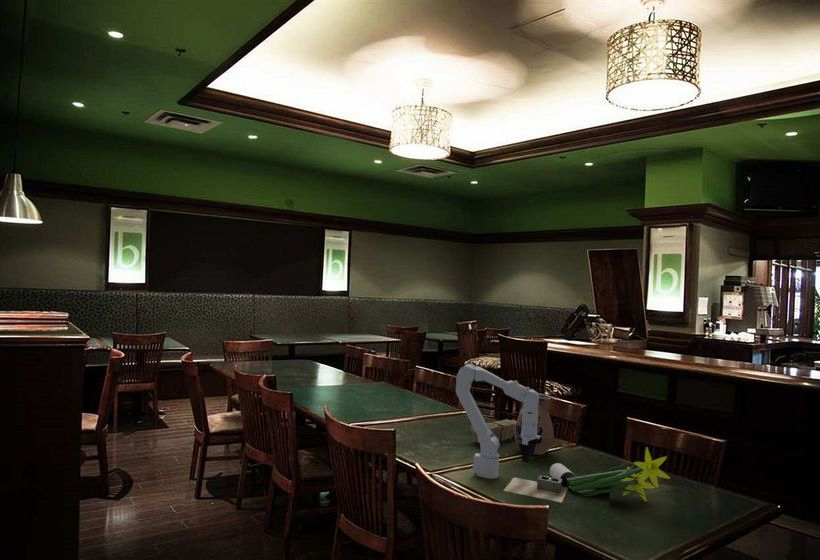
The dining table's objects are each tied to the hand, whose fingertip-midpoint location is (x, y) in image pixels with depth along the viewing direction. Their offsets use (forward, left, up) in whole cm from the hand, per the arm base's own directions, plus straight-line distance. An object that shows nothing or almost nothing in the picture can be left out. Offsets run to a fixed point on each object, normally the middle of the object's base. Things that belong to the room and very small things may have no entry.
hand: (527, 459), depth 206 cm
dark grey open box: (+9, -4, -8) cm, 13 cm away
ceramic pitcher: (-6, +46, -10) cm, 47 cm away
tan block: (-26, +55, -10) cm, 62 cm away
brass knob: (+9, -4, -8) cm, 13 cm away
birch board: (+5, -7, -9) cm, 13 cm away
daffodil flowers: (+31, +3, -10) cm, 32 cm away
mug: (+10, +14, -7) cm, 19 cm away
